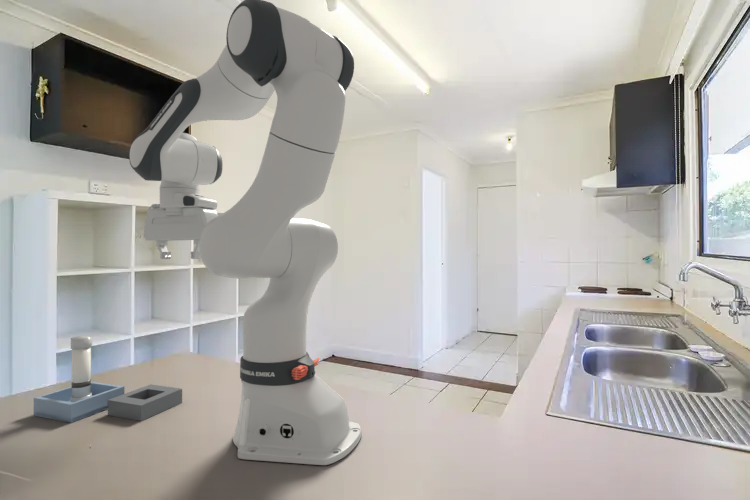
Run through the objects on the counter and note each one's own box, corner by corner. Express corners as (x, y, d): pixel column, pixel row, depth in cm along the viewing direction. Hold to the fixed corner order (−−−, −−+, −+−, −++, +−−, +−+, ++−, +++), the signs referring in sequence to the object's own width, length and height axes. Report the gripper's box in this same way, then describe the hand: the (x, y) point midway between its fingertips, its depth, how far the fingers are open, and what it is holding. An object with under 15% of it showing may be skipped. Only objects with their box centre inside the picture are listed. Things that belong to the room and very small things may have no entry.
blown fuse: (95, 402, 85) (96, 336, 85) (78, 408, 82) (78, 339, 82) (83, 400, 86) (84, 335, 86) (66, 406, 83) (66, 338, 83)
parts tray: (124, 402, 87) (124, 386, 87) (71, 422, 77) (71, 404, 77) (88, 396, 91) (88, 381, 91) (33, 415, 81) (33, 397, 81)
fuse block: (182, 402, 87) (182, 388, 87) (141, 421, 78) (141, 405, 78) (150, 397, 90) (150, 384, 90) (107, 414, 81) (107, 399, 81)
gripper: (136, 202, 98) (137, 259, 98) (203, 198, 91) (203, 259, 91) (158, 205, 104) (158, 259, 104) (222, 201, 97) (223, 258, 97)
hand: (180, 259), depth 97 cm, fingers open, 8 cm apart
